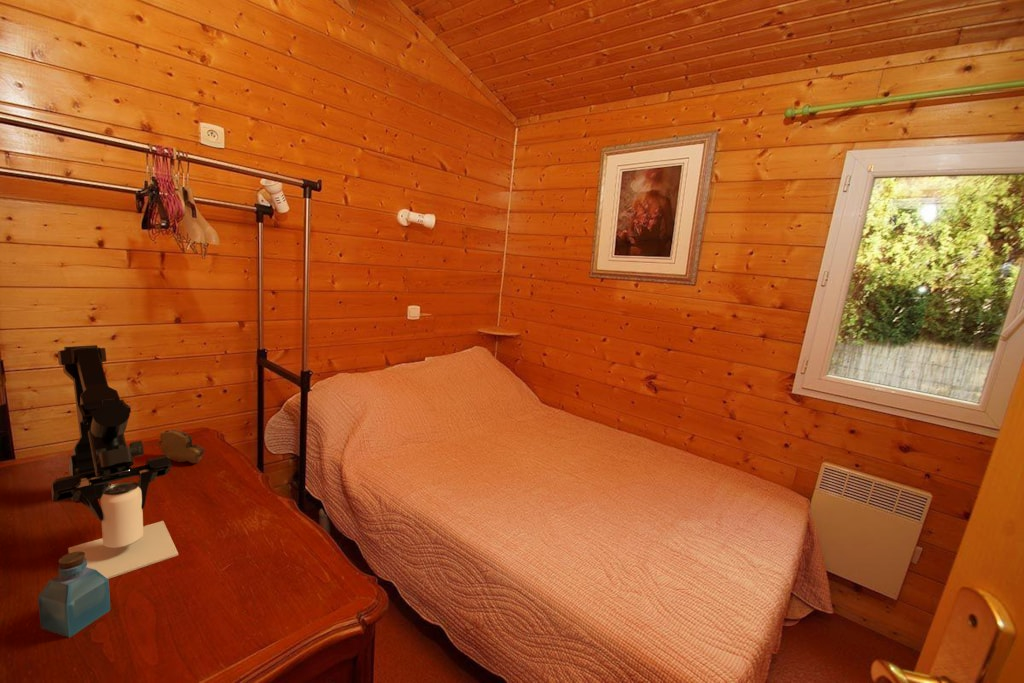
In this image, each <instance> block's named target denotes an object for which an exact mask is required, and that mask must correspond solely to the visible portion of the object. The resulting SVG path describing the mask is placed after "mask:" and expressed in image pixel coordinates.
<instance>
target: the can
mask: <svg viewBox="0 0 1024 683" xmlns="http://www.w3.org/2000/svg"><path fill="white" fill-rule="evenodd" d="M138 486H139V484H138V481H137V482H136V481H123V482H117V483H114V484H111V486H108V487H107V488H105V489H104V490H103V495H102V497H100V499H99V500H100V508H101V510H102V515H103V521H101V532H102V534H101V535H102V538H103V544H104V546H106V547H108V548H121V547H125V546H128V545H131V544H133V543H135V542H136V541H138V540H139V539H140V538H141V537H142V536H143V526H144V516H143V515H144V514H143V513H144V512H143V509H142V492H141V489H140V488H139V487H138Z"/></svg>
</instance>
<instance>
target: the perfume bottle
mask: <svg viewBox="0 0 1024 683" xmlns="http://www.w3.org/2000/svg"><path fill="white" fill-rule="evenodd" d="M84 557H85V552H81V551H79V552H73V553H69V552H68V553H67V554H65V555H63V556H62V557H60V558H59V560H58V563H59V565H58V567H57V568H58V569H57V572H58V575H57V576H55V577H53V578H52V579H49V581H48V582H47V584H46V585H45V586H44V588H43V589H42V590H41V592H40V593H39V594H38V596H37V598H38V609H39V612H38V613H39V620H40V629H41V628H44V629H46V630H45V631H47V630H48V631H47V632H50V631H51V632H50V633H54V634H56V633H57V635H61V636H63V637H66V638H69V639H70V638H71V637H73V636H75V635H76V634H77V633H79V632H80V631H82V630H84V629H85V628H86V627H88V626H90V624H92V623H94V622H95V621H96V620H99V619H100V618H101V617H102V616H104V615H105V614H108V613H109V612H110V611H111V601H110V600H111V597H110V583H109V579H107V578H106V577H105V576H103V575H102V574H101V573H99V572H98V571H97V570H95V569H91V568H87V567H86V566H87V559H86V558H84ZM44 629H43V630H44Z"/></svg>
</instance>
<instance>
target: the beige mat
mask: <svg viewBox="0 0 1024 683" xmlns="http://www.w3.org/2000/svg"><path fill="white" fill-rule="evenodd" d="M67 550H68V554H69V553H73V552H79V551H81V552H85V557H84V558H86V559H87V566H86V567H87V568H91V569H95V570H97V571H98V572H99V573H101V574H102V575H103V576H105V577H106V578H107V579H108V580H109V579H111V578H114V577H118V576H121V575H124V574H127V573H129V572H134V571H135V570H138V569H141V568H145V567H147V566H151V565H153V564H156V563H158V562H159V563H160V562H163V561H166V560H169V559H171V558H174V557H177V556H179V552H178V549H177V548H176V545H175V543H174V541H173V539H172V537H171V534H170V532H169V530H168V528H167V526H166V523H165V522H164V520H160V521H158V522H154V523H151V524H150V523H149V524H147V525H143V536H142V537H141V538H140V539H139V540H138V541H136V542H135V543H133V544H131V545H128V546H125V547H121V548H108V547H106V546H104V544H103V537H101V538H99V539H95V540H92V541H87V542H84V543H80V544H78V545H74V546H70V547H67Z"/></svg>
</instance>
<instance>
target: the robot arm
mask: <svg viewBox="0 0 1024 683" xmlns="http://www.w3.org/2000/svg"><path fill="white" fill-rule="evenodd" d="M106 351H107V350H106V348H105V347H98V345H96V344H95V345H94V344H93V345H92V344H91V345H73V346H64V347H63V350H58V352H57V359H58V365H59V366H62V371H63V373H64V374H65V375H66V376H67V377H68V378H69V379H70V380H71V381H72V383H73V390H74V399H75V405H76V406H75V408H76V414H77V415H76V416H77V423H78V432H79V438H78V439H77V442H76V443H75V444H74V446H73V448H72V455H70V457H69V463H68V469H69V476H65V477H59V478H56V479H54V480H53V482H52V483H51V498H52V499H51V500H52V502H55V503H56V502H61V501H64V500H70V499H71V501H72V502H76V501H77V502H80V503H82V504H83V506H86V507H87V508H88V509H89V511H91V513H92V514H93V515H94V516H95V517H96V519H97V520H99V522H102V521H103V515H102V510H101V504H100V502H99V500H98V499H99V498H101V497H102V495H103V490H104V489H105V488H107V487H108V486H111V485H112V484H111V483H112V482H116V481H121V480H125V479H129V478H133V477H137V476H138V478H139V479H138V481H137V483H138V484H139V486H138V487H139V488H140V489H141V492H142V510H144V509H145V504H146V500H147V494H148V490H149V485H150V483H153V482H155V480H156V478H159V477H163V476H166V475H168V474H169V472H170V470H171V468H172V466H173V463H172V460H171V459H170V457H168V456H166V455H161V456H157V457H152V458H148V459H147V460H146V462H145V465H140V466H135V467H132V466H134V464H135V462H134V460H135V459H134V458H136V457H140V456H144V454H145V449H144V445H143V440H136V441H132V442H129V446H128V445H127V441H126V437H125V436H126V435H125V431H126V429H127V425H128V422H129V419H130V415H131V414H130V413H132V412H131V411H132V410H131V409H132V408H131V406H130V405H128V404H127V403H126V402H125V400H124V399H121V397H120V395H119V393H118V391H117V390H116V389H114V388H112V387H110V386H109V384H108V381H107V377H106V373H105V369H104V366H103V363H105V362H107V352H106Z"/></svg>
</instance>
